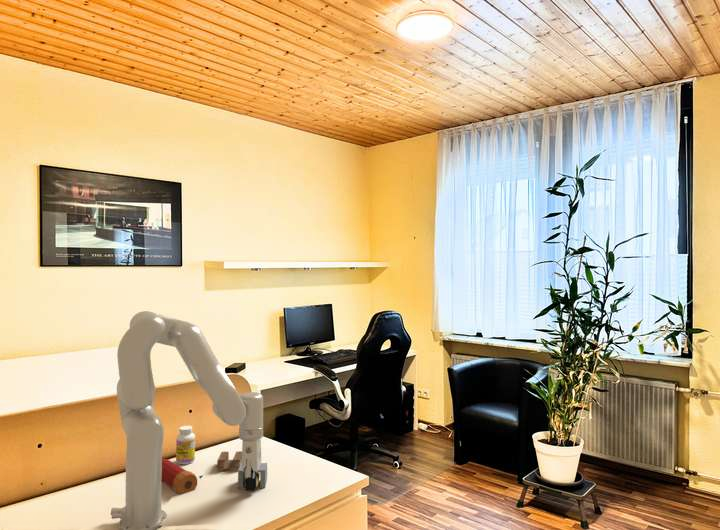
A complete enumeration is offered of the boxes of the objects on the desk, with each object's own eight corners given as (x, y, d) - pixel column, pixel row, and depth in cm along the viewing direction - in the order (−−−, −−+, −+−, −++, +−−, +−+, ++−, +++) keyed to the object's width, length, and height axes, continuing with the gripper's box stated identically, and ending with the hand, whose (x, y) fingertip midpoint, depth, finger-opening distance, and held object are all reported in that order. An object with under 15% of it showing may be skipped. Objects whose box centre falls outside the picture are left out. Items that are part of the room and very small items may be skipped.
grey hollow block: (265, 490, 167) (265, 470, 167) (237, 491, 166) (238, 470, 166) (267, 482, 173) (267, 462, 173) (240, 483, 172) (241, 463, 172)
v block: (217, 474, 179) (217, 460, 179) (221, 465, 187) (221, 451, 187) (239, 473, 180) (239, 459, 180) (243, 464, 188) (243, 451, 188)
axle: (257, 490, 165) (257, 478, 165) (244, 490, 164) (245, 478, 164) (261, 472, 179) (261, 461, 178) (249, 473, 178) (250, 461, 178)
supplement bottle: (172, 464, 188) (172, 429, 188) (183, 457, 194) (183, 424, 194) (187, 466, 186) (188, 431, 186) (198, 459, 192) (198, 425, 192)
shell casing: (177, 499, 161) (178, 477, 161) (152, 479, 175) (152, 459, 175) (198, 492, 165) (198, 471, 165) (171, 473, 180) (171, 454, 180)
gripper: (259, 440, 155) (259, 500, 155) (265, 424, 170) (265, 479, 170) (234, 440, 155) (234, 500, 155) (243, 425, 169) (242, 479, 170)
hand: (250, 489), depth 162 cm, fingers closed
